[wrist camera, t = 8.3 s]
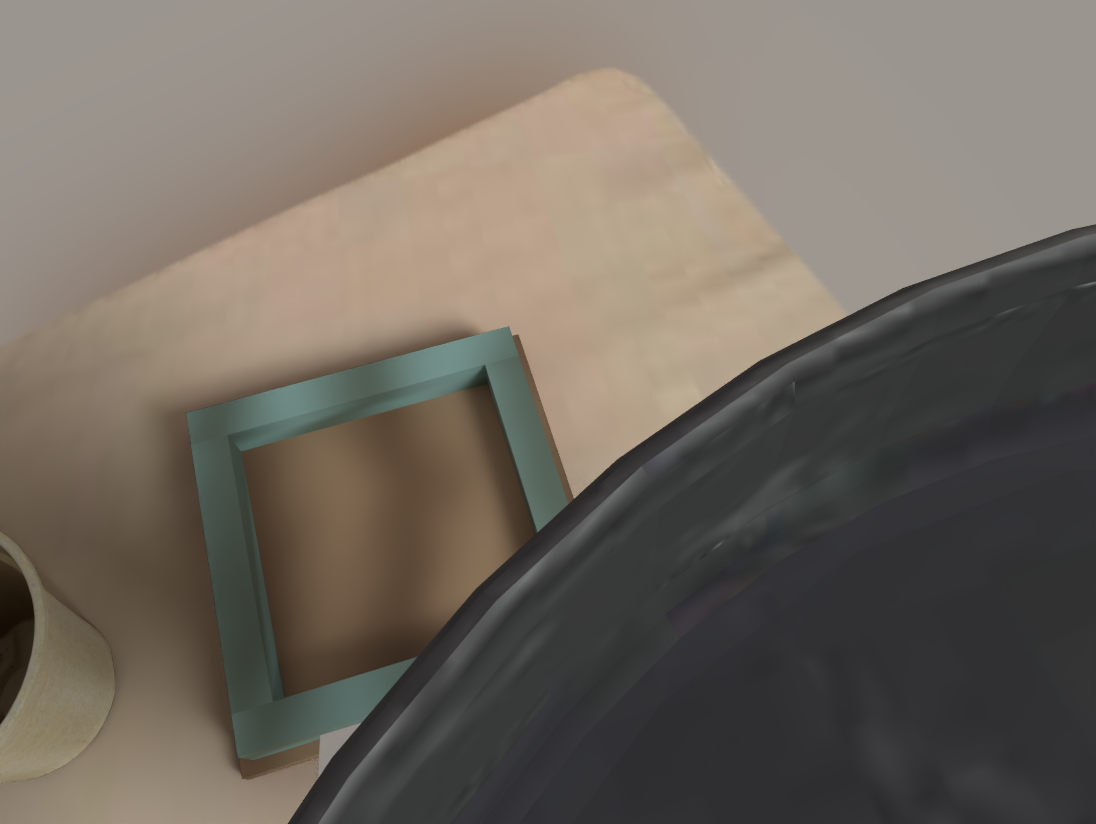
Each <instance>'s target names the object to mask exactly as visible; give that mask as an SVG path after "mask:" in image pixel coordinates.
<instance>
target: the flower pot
mask: <svg viewBox="0 0 1096 824" xmlns="http://www.w3.org/2000/svg"><path fill="white" fill-rule="evenodd" d="M0 654H2V658H1V659H0V783H5V782H13V781H23V780H30V779H34V778H37V777H40V776H42V775H45V774H47V773H49V772H52V771H54V770H56V769H58V768H60V767H62V766H63V765H65V764H67V763H68V762H70V761H71V760H72V759H74V758H75V757H76V756H77V755H78V754H80V753H81V752H82V751H83V750H84V749H85V748H86V747H87V746H88V745H89V744H90V743H91V741H92V740H93V739H94V738H95V736H96V735H97V733H98V732H99V730H100V729H101V727H102V725H103V724H104V722H105V720H106V718H107V715H108V713H109V711H110V708H111V705H112V702H113V699H114V694H115V678H114V667H113V659H112V654H111V650H110V647H109V645H108V643H107V642H106V640H105V639H104V638H103V636H102V635H101V634H100V633H99V632H98V631H97V630H96V629H95V628H94V627H93V626H92V625H90V624H89V623H87V622H86V621H84V620H83V619H82V618H81V617H79V616H78V615H77V614H75V613H74V612H72V611H71V610H70V609H68V608H67V607H66V606H65V605H63V604H62V603H61V602H60V601H59V600H57V599H56V598H55V597H54V596H52V595H51V594H50V593H49V592H48V591H46V590H45V589H44V588H43V587H42V583H41V580H40V578H39V576H38V574H37V571H36V569H35V568H34V566H33V564H32V563H31V561H30V560H29V558H28V557H27V555H26V554H25V553H24V552H23V551H22V549H21V548H20V547H19V546H18V545H17V544H16V543H15V542H14V541H13V540H12V539H10V538H9V537H8V536H6V535H5V534H4V533H3V532H1V531H0Z"/></svg>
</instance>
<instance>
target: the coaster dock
mask: <svg viewBox="0 0 1096 824" xmlns="http://www.w3.org/2000/svg"><path fill="white" fill-rule="evenodd" d="M186 416H187V422H188V429H189V436H190V442H191V449H192V456H193V462H194V469H195V476H196V483H197V489H198V496H199V503H200V509H201V516H202V523H203V529H204V536H205V543H206V549H207V556H208V563H209V569H210V576H211V583H212V589H213V596H214V603H215V609H216V616H217V623H218V629H219V636H220V643H221V649H222V656H223V663H224V670H225V676H226V683H227V690H228V696H229V703H230V710H231V716H232V723H233V730H234V736H235V743H236V750H237V756H238V757H239V762H240V768H241V775H242V779H252V778H255V777H258V776H261V775H264V774H267V773H270V772H274V771H277V770H280V769H283V768H286V767H289V766H292V765H295V764H299V763H302V762H305V761H308V760H311V759H314V758H317V757H319V749H320V735H323V734H327V733H330V732H333V731H336V730H340V729H343V728H346V727H349V726H352V725H356V724H359V723H362V722H363V721H364V719H365V718H366V717H367V716H368V715H369V713H370V712H371V711H372V710H373V709H374V708H375V706H376V705H377V704H378V703H379V702H380V701H381V699H382V698H383V697H384V696H385V695H386V694H387V692H388V691H389V690H390V689H391V688H392V686H393V685H394V684H395V683H396V682H397V681H398V679H399V678H400V677H401V676H402V675H403V674H404V672H405V671H406V670H407V669H408V668H409V666H410V665H411V664H412V663H413V662H414V661H415V659H416V658H417V657H418V656H419V655H420V654H421V652H422V651H423V650H424V649H425V648H426V647H427V645H428V644H429V643H430V642H431V641H432V639H433V638H434V637H435V636H436V635H437V634H438V632H439V631H440V630H441V629H442V628H443V627H444V625H445V624H446V623H447V622H448V621H449V620H450V618H451V617H452V616H453V615H454V614H455V612H456V611H457V610H458V609H459V608H460V607H461V605H462V604H463V603H464V602H465V601H466V600H467V598H468V597H469V596H470V595H471V594H472V593H473V591H474V590H475V589H476V588H477V587H478V586H479V585H480V584H482V583H483V582H484V581H485V580H486V579H487V578H488V577H489V576H490V575H491V574H492V573H494V572H495V571H496V570H497V569H498V568H499V567H500V566H501V565H502V564H503V563H505V562H506V561H507V560H508V559H509V558H510V557H511V556H512V555H513V554H514V553H515V552H517V551H518V550H519V549H520V548H521V547H522V546H523V545H524V544H525V543H526V542H528V541H529V540H530V539H531V538H532V537H533V536H534V535H535V534H536V533H537V532H538V531H540V530H541V529H542V528H543V527H544V526H545V525H546V524H547V523H548V522H549V521H551V520H552V519H553V518H554V517H555V516H556V515H557V514H558V513H559V512H560V511H561V510H563V509H564V508H565V507H566V506H567V505H568V504H569V503H570V502H571V501H572V500H574V498H573V495H572V492H571V489H570V486H569V483H568V480H567V477H566V474H565V471H564V468H563V465H562V462H561V459H560V456H559V454H558V451H557V448H556V445H555V442H554V439H553V436H552V433H551V430H550V427H549V424H548V421H547V418H546V415H545V412H544V409H543V406H542V403H541V400H540V397H539V394H538V391H537V388H536V385H535V382H534V379H533V376H532V374H531V371H530V368H529V365H528V362H527V359H526V356H525V353H524V350H523V347H522V344H521V341H520V338H519V335H514V336H512V334H511V331H510V328H509V326H508V327H505V328H501V329H497V330H494V331H490V332H486V333H482V334H479V335H475V336H471V337H467V338H464V339H460V340H456V341H453V342H449V343H445V344H441V345H438V346H434V347H430V348H426V349H423V350H419V351H415V352H412V353H408V354H404V355H400V356H397V357H393V358H389V359H386V360H382V361H378V362H374V363H371V364H367V365H363V366H359V367H356V368H352V369H348V370H345V371H341V372H337V373H333V374H330V375H326V376H322V377H318V378H315V379H311V380H307V381H304V382H300V383H296V384H292V385H289V386H285V387H281V388H278V389H274V390H270V391H266V392H263V393H259V394H255V395H251V396H248V397H244V398H240V399H237V400H233V401H229V402H225V403H222V404H218V405H214V406H210V407H207V408H203V409H199V410H196V411H192V412H188V413H186Z"/></svg>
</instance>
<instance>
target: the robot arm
mask: <svg viewBox="0 0 1096 824" xmlns="http://www.w3.org/2000/svg"><path fill="white" fill-rule="evenodd" d="M360 724H361V723H359V724H356V725H352V726H349V727H346V728H343V729H340V730H336V731H333V732H330V733H327V734H323V735H320V749H319V768H318V778H319V776H320V775H321V773H322V772H323V770H324V769H325V767H326V766H327V764H328V763H329V761H330V760H331V758H332V757H333V756H334V755H335V753H336V752H337V751H338V750H339V749H340V748H341V746H342V745H343V744H344V743H345V742H346V740H347V739H348V738H349V737H350V736H351V735H352V733H353V732H354V731H355V730H356V729H357V728H358V726H359V725H360Z"/></svg>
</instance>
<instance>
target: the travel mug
mask: <svg viewBox="0 0 1096 824" xmlns="http://www.w3.org/2000/svg"><path fill="white" fill-rule="evenodd" d="M288 824H1096V225H1091V226H1086V227H1082V228H1077V229H1072V230H1069V231H1066V232H1063V233H1060V234H1057V235H1054V236H1051V237H1048V238H1046V239H1043V240H1040V241H1037V242H1034V243H1032V244H1028V245H1025V246H1023V247H1020V248H1017V249H1014V250H1011V251H1008V252H1005V253H1002V254H1000V255H997V256H994V257H991V258H988V259H985V260H982V261H980V262H977V263H974V264H971V265H968V266H965V267H962V268H959V269H956V270H954V271H951V272H948V273H945V274H942V275H939V276H937V277H934V278H931V279H928V280H925V281H922V282H919V283H916V284H913V285H911V286H908V287H905V288H902V289H900V290H898V291H897V292H895V293H892V294H890V295H889V296H886V297H884V298H883V299H881V300H879V301H877V302H875V303H873V304H871V305H869V306H867V307H865V308H863V309H861V310H859V311H857V312H855V313H853V314H851V315H849V316H847V317H845V318H843V319H841V320H839V321H837V322H835V323H833V324H831V325H829V326H827V327H825V328H823V329H821V330H819V331H817V332H815V333H813V334H811V335H809V336H808V337H806V338H804V339H802V340H800V341H798V342H796V343H794V344H792V345H790V346H788V347H786V348H784V349H782V350H780V351H778V352H776V353H774V354H772V355H770V356H768V357H766V358H764V359H762V360H760V361H758V362H757V363H756V364H754V365H753V366H751V367H750V368H748V369H747V370H746V371H744V372H743V373H741V374H740V375H738V376H737V377H735V378H734V379H733V380H731V381H730V382H728V383H727V384H725V385H724V386H722V387H721V388H720V389H718V390H717V391H715V392H714V393H712V394H711V395H710V396H708V397H707V398H705V399H704V400H702V401H701V402H699V403H698V404H697V405H695V406H694V407H692V408H691V409H689V410H688V411H686V412H685V413H684V414H682V415H681V416H679V417H678V418H676V419H675V420H674V421H672V422H671V423H669V424H668V425H666V426H665V427H663V428H662V429H661V430H659V431H658V432H656V433H655V434H653V435H652V436H650V437H649V438H648V439H646V440H645V441H643V442H642V443H640V444H639V445H637V446H636V447H635V448H633V449H632V450H630V451H629V452H627V453H626V454H625V455H623V456H622V457H620V458H619V459H617V460H616V461H615V462H614V463H613V464H612V465H611V466H610V467H609V468H607V469H606V470H605V471H604V472H603V473H602V474H601V475H600V476H599V477H598V478H597V479H595V480H594V481H593V482H592V483H591V484H590V485H589V486H588V487H587V488H586V489H584V490H583V491H582V492H581V493H580V494H579V495H578V496H577V497H576V498H575V499H574V500H572V501H571V502H570V503H569V504H568V505H567V506H566V507H565V508H564V509H563V510H561V511H560V512H559V513H558V514H557V515H556V516H555V517H554V518H553V519H552V520H551V521H549V522H548V523H547V524H546V525H545V526H544V527H543V528H542V529H541V530H540V531H538V532H537V533H536V534H535V535H534V536H533V537H532V538H531V539H530V540H529V541H528V542H526V543H525V544H524V545H523V546H522V547H521V548H520V549H519V550H518V551H517V552H515V553H514V554H513V555H512V556H511V557H510V558H509V559H508V560H507V561H506V562H505V563H503V564H502V565H501V566H500V567H499V568H498V569H497V570H496V571H495V572H494V573H492V574H491V575H490V576H489V577H488V578H487V579H486V580H485V581H484V582H483V583H482V584H480V585H479V586H478V587H477V588H476V589H475V590H474V591H473V593H472V594H471V595H470V596H469V597H468V598H467V600H466V601H465V602H464V603H463V604H462V605H461V607H460V608H459V609H458V610H457V611H456V612H455V614H454V615H453V616H452V617H451V618H450V620H449V621H448V622H447V623H446V624H445V625H444V627H443V628H442V629H441V630H440V631H439V632H438V634H437V635H436V636H435V637H434V638H433V639H432V641H431V642H430V643H429V644H428V645H427V647H426V648H425V649H424V650H423V651H422V652H421V654H420V655H419V656H418V657H417V658H416V659H415V661H414V662H413V663H412V664H411V665H410V666H409V668H408V669H407V670H406V671H405V672H404V674H403V675H402V676H401V677H400V678H399V679H398V681H397V682H396V683H395V684H394V685H393V686H392V688H391V689H390V690H389V691H388V692H387V694H386V695H385V696H384V697H383V698H382V699H381V701H380V702H379V703H378V704H377V705H376V706H375V708H374V709H373V710H372V711H371V712H370V713H369V715H368V716H367V717H366V718H365V719H364V721H363V722H362V723H361V724H360V725H359V726H358V728H357V729H356V730H355V731H354V732H353V733H352V735H351V736H350V737H349V738H348V739H347V740H346V742H345V743H344V744H343V745H342V746H341V748H340V749H339V750H338V751H337V752H336V753H335V755H334V756H333V757H332V758H331V760H330V761H329V763H328V764H327V766H326V767H325V769H324V770H323V772H322V773H321V775H320V776H319V778H318V779H317V781H316V782H315V784H314V785H313V787H312V788H311V790H310V791H309V793H308V794H307V796H306V797H305V799H304V800H303V802H302V803H301V805H300V806H299V808H298V809H297V811H296V812H295V814H294V815H293V817H292V818H291V820H290V821H289V823H288Z"/></svg>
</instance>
